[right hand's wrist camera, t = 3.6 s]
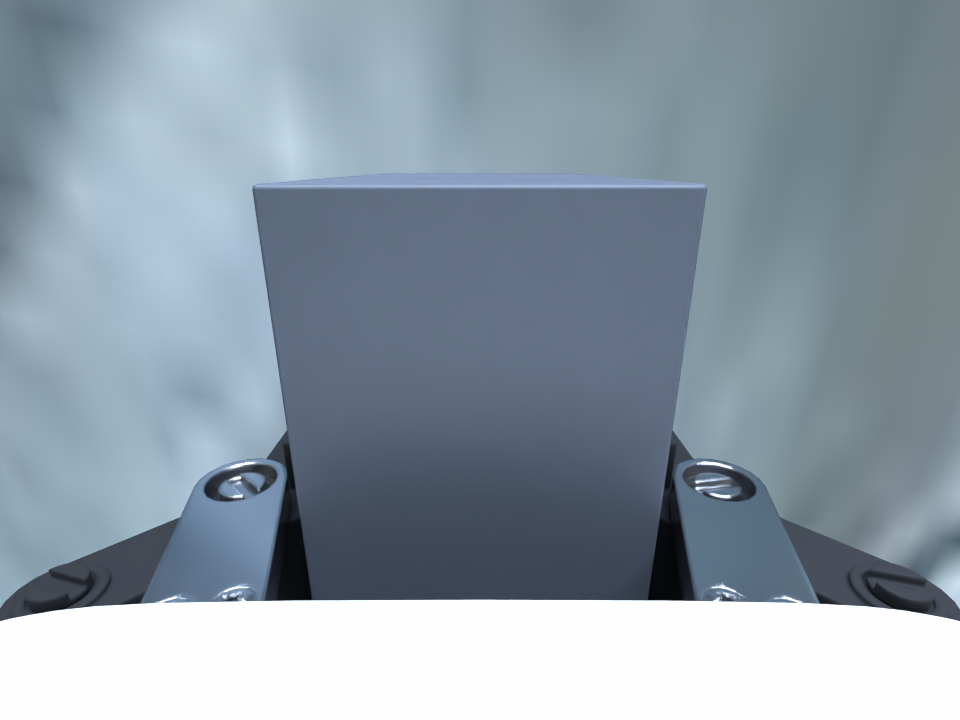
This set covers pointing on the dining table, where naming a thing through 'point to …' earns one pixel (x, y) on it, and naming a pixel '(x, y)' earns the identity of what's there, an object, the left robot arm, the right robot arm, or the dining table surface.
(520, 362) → the bar
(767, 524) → the right robot arm
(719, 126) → the dining table surface
